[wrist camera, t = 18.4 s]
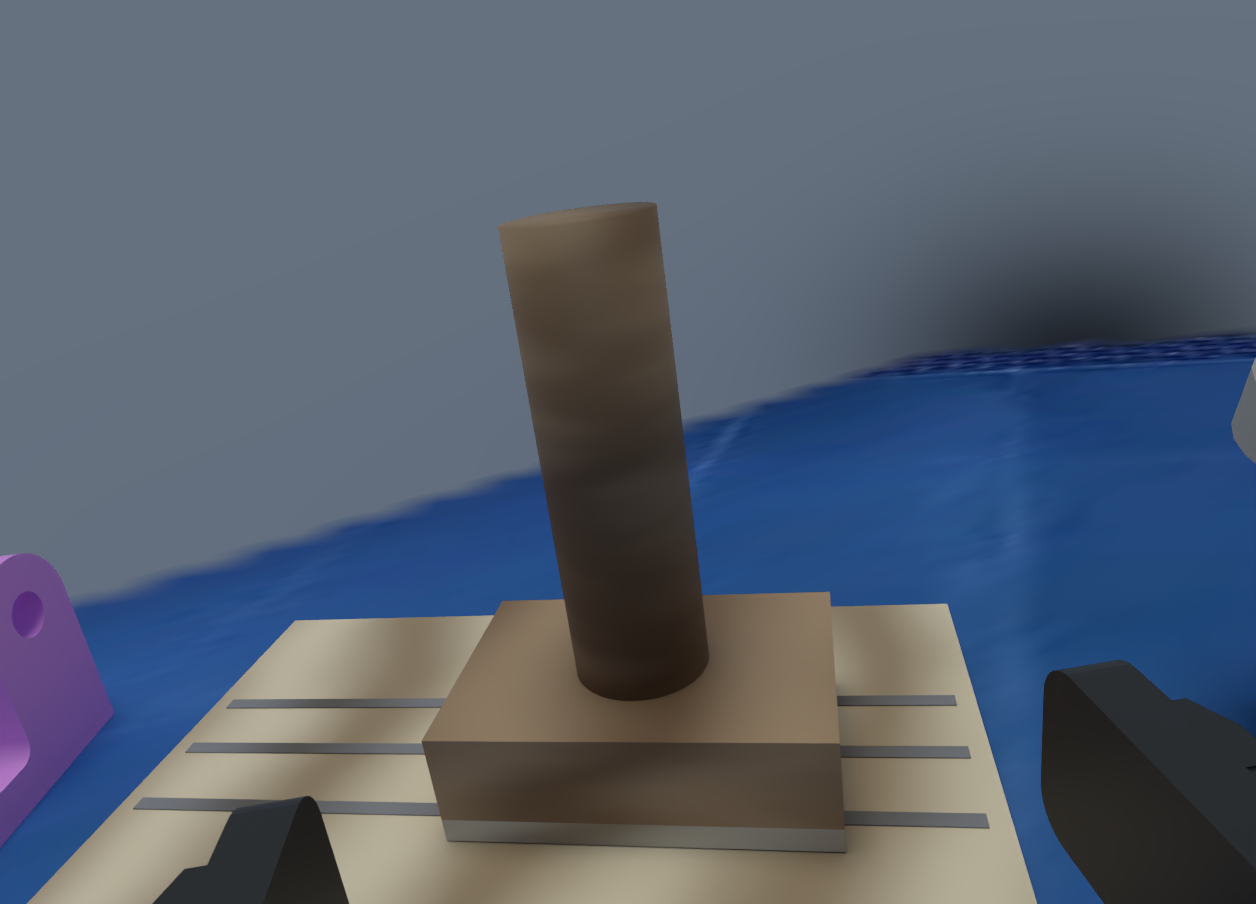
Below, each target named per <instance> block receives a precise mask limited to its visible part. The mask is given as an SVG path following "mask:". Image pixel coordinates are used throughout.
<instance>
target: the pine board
mask: <svg viewBox="0 0 1256 904" xmlns="http://www.w3.org/2000/svg"><path fill="white" fill-rule="evenodd" d="M493 617H494V616H457V617H418V618H380V619H341V620H302V621H294V622H293V624H292V625H291V626H290V627H289V628H288V629H287V630H286V631H285V632H284V633H283V634H282V635H281V636H280V637H279V638H278V639H277V640H276V641H275V643H274V644H273V645H272V646H271V647H270V648H269V649H268V650H267V651H266V652H265V653H264V654H263V655H262V656H261V657H260V658H259V659H258V660H257V662H256V663H255V664H254V665H253V666H252V667H251V668H250V669H249V670H248V671H247V672H246V673H245V674H244V675H243V676H242V677H241V678H240V679H239V681H238V682H237V683H236V684H235V685H234V686H233V687H232V688H231V689H230V690H229V691H228V692H227V693H226V694H225V695H224V696H223V697H222V698H221V700H220V701H219V702H218V703H217V704H216V705H215V706H214V707H213V708H212V709H211V710H210V711H209V712H208V713H207V714H206V715H205V716H204V717H203V719H202V720H201V721H200V722H199V723H198V724H197V725H196V726H195V727H194V728H193V729H192V730H191V731H190V732H189V733H188V734H187V735H186V736H185V737H184V739H183V740H182V741H181V742H180V743H179V744H178V745H177V746H176V747H175V748H174V749H173V750H172V751H171V752H170V753H169V754H168V755H167V756H166V758H165V759H164V760H163V761H162V762H161V763H160V764H159V765H158V766H157V767H156V768H155V769H154V770H153V771H152V772H151V773H150V774H149V775H148V777H147V778H146V779H145V780H144V781H143V782H142V783H141V784H140V785H139V786H138V787H137V788H136V789H135V790H134V791H133V792H132V793H131V794H130V796H129V797H128V798H127V799H126V800H125V801H124V802H123V803H122V804H121V805H120V806H119V807H118V808H117V809H116V810H115V811H114V812H113V813H112V815H111V816H110V817H109V818H108V819H107V820H106V821H105V822H104V823H103V824H102V825H101V826H100V827H99V828H98V829H97V830H96V831H95V832H94V834H93V835H92V836H91V837H90V838H89V839H88V840H87V841H86V842H85V843H84V844H83V845H82V846H81V847H80V848H79V849H78V850H77V851H76V853H75V854H74V855H73V856H72V857H71V858H70V859H69V860H68V861H67V862H66V863H65V864H64V865H63V866H62V867H61V868H60V869H59V870H58V871H57V873H56V874H55V875H54V876H53V877H52V878H51V879H50V880H49V881H48V882H47V883H46V884H45V885H44V886H43V887H42V888H41V889H40V890H39V892H38V893H37V894H36V895H35V896H34V897H33V898H32V899H31V900H30V901H29V902H28V903H27V904H152V903H153V902H154V901H155V900H156V899H157V898H158V897H159V896H160V895H161V894H162V893H163V891H164V890H165V889H166V888H167V887H168V886H169V885H170V884H171V883H172V882H173V881H174V880H175V878H176V877H177V876H178V875H179V874H180V873H181V872H182V871H183V870H184V869H187V868H193V867H198V866H204V865H207V864H208V862H209V860H210V858H211V855H212V853H213V851H214V849H215V847H216V844H217V842H218V840H219V838H220V836H221V833H222V831H223V829H224V827H225V825H226V822H227V820H228V818H229V817H230V815H231V814H232V812H233V811H234V810H235V809H237V808H240V807H245V806H251V805H256V804H262V803H268V802H274V801H280V800H286V799H292V798H298V797H303V796H311V797H312V798H313V799H314V800H315V801H316V803H317V805H318V807H319V809H320V812H321V815H322V818H323V821H324V824H325V828H326V831H327V834H328V837H329V840H330V844H331V847H332V850H333V853H334V856H335V860H336V863H337V866H338V869H339V872H340V875H341V879H342V882H343V885H344V888H345V891H346V895H347V898H348V901H349V904H1037V902H1036V898H1035V895H1034V892H1033V888H1032V885H1031V882H1030V878H1029V875H1028V872H1027V868H1026V865H1025V862H1024V858H1023V855H1022V852H1021V848H1020V845H1019V842H1018V838H1017V835H1016V832H1015V828H1014V825H1013V822H1012V818H1011V815H1010V812H1009V808H1008V805H1007V802H1006V798H1005V795H1004V792H1003V788H1002V785H1001V782H1000V778H999V775H998V772H997V768H996V765H995V762H994V758H993V755H992V752H991V748H990V745H989V742H988V738H987V735H986V732H985V728H984V725H983V722H982V718H981V715H980V712H979V708H978V705H977V702H976V698H975V695H974V692H973V688H972V685H971V682H970V678H969V675H968V672H967V668H966V665H965V662H964V658H963V655H962V652H961V648H960V645H959V641H958V638H957V635H956V631H955V628H954V625H953V621H952V618H951V615H950V611H949V608H948V605H947V604H922V605H883V606H844V607H831V619H832V634H833V649H834V664H835V679H836V693H837V708H838V723H839V738H840V754H841V770H842V787H843V803H844V820H845V836H846V852H819V851H786V850H752V849H718V848H685V847H651V846H617V845H584V844H550V843H516V842H482V841H449V840H446V836H445V832H444V828H443V824H442V820H441V816H440V812H439V808H438V804H437V800H436V796H435V793H434V789H433V785H432V781H431V777H430V773H429V769H428V765H427V761H426V757H425V753H424V749H423V746H422V742H421V741H422V739H423V737H424V736H425V734H426V732H427V731H428V729H429V727H430V725H431V724H432V722H433V720H434V718H435V717H436V715H437V713H438V712H439V710H440V708H441V706H442V705H443V703H444V701H445V699H446V698H447V696H448V694H449V693H450V691H451V689H452V687H453V686H454V684H455V682H456V680H457V679H458V677H459V675H460V674H461V672H462V670H463V668H464V667H465V665H466V663H467V661H468V660H469V658H470V656H471V655H472V653H473V651H474V649H475V648H476V646H477V644H478V642H479V641H480V639H481V637H482V636H483V634H484V632H485V630H486V629H487V627H488V625H489V623H490V622H491V620H492V618H493Z"/></svg>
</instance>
